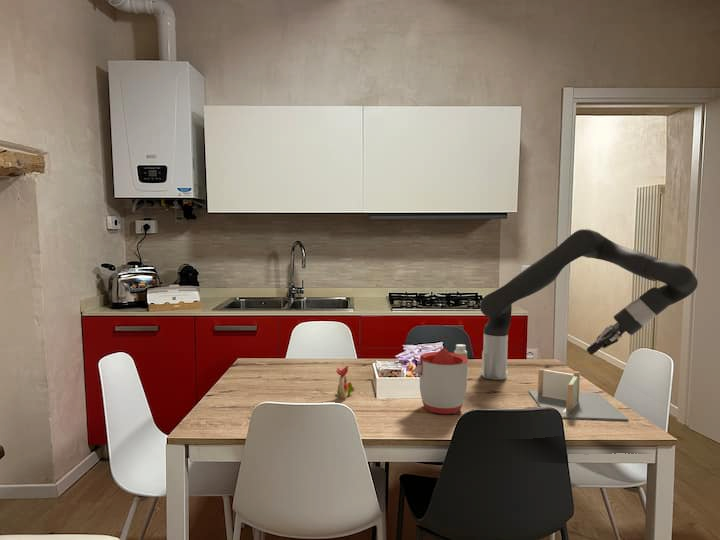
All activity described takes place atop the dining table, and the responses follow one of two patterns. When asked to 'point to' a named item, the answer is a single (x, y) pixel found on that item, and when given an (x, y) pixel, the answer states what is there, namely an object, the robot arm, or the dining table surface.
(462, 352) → the supplement bottle
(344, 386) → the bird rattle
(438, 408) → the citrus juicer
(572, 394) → the fence hinged section
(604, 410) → the board
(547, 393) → the panel
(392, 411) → the dining table surface
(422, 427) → the dining table surface
